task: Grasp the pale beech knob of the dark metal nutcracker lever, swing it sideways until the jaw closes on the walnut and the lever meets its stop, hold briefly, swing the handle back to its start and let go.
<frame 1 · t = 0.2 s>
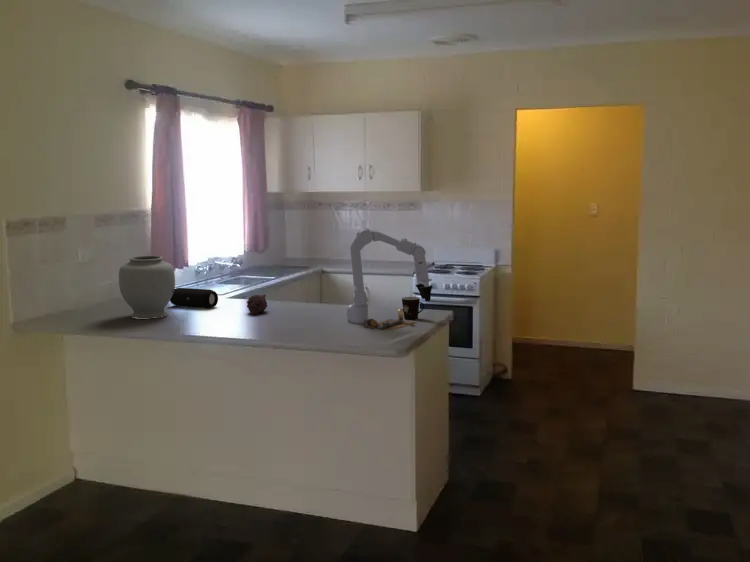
hand: (426, 299, 344), 11 cm above the table, fingers open, 7 cm apart
coffee mug: (412, 319, 352), on the table
portable speaker: (194, 307, 397), on the table
pine cone: (256, 313, 377), on the table
lever: (391, 318, 333), point 4 cm above the table, hinge at 0.0°
grey ceramic vase: (149, 316, 373), on the table
board: (391, 327, 336), on the table
walnut: (373, 327, 331), point 1 cm above the table, touching board
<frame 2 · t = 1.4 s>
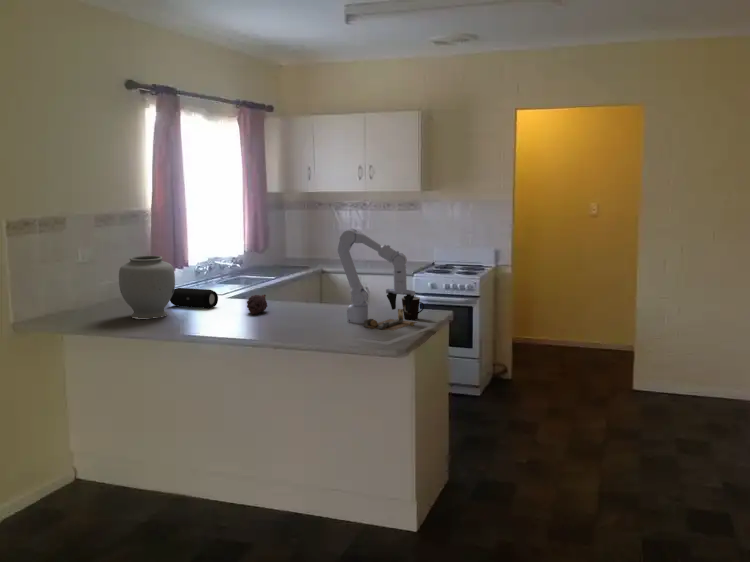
hand: (400, 310, 339), 7 cm above the table, fingers open, 7 cm apart
nothing on the table moved.
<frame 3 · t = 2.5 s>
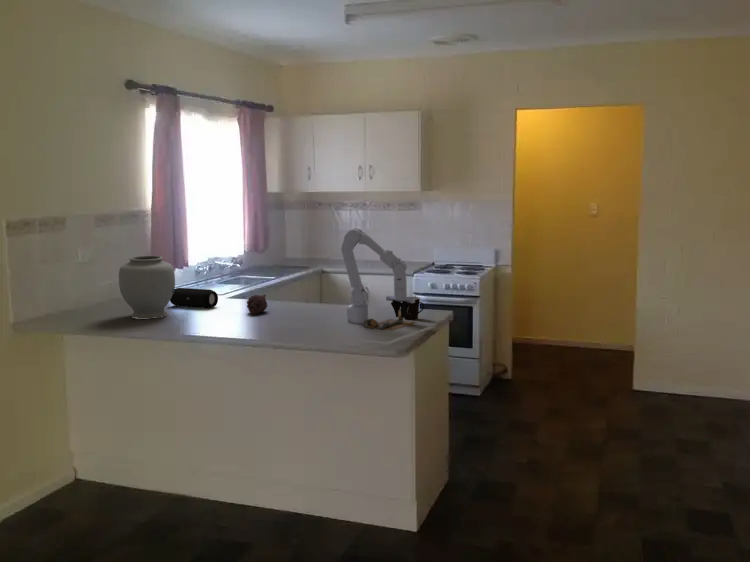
hand: (400, 317, 340), 4 cm above the table, fingers closed on lever, 2 cm apart
lever: (391, 318, 333), point 4 cm above the table, hinge at 0.0°, touching gripper
everything else where it was.
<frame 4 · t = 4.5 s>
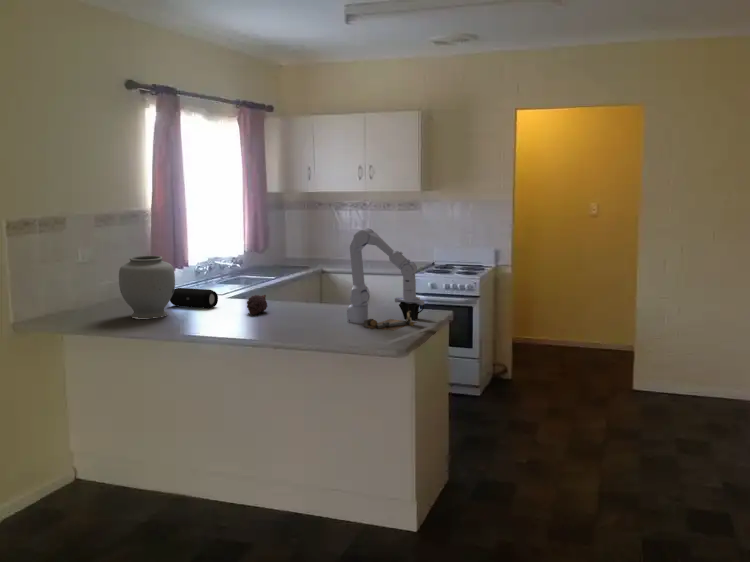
hand: (409, 319, 335), 4 cm above the table, fingers open, 3 cm apart
lever: (394, 319, 332), point 4 cm above the table, hinge at 26.4°, touching gripper
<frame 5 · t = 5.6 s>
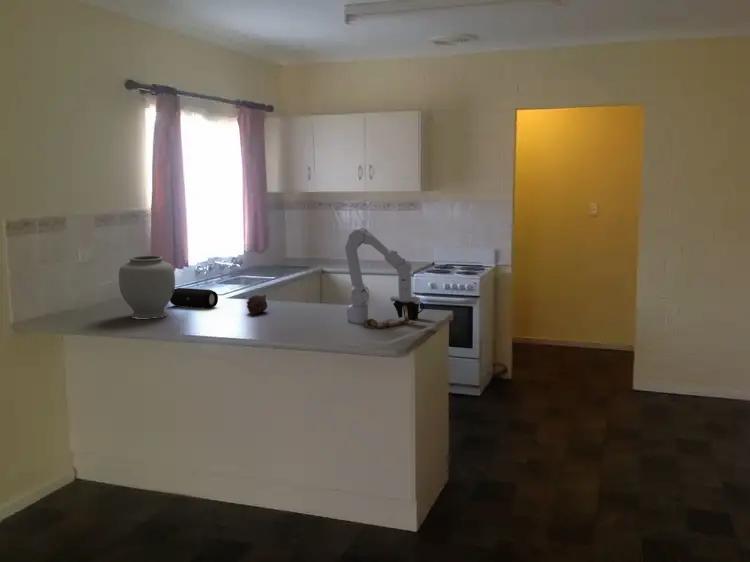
hand: (405, 318, 338), 4 cm above the table, fingers open, 5 cm apart
lever: (393, 319, 332), point 4 cm above the table, hinge at 19.2°, touching gripper
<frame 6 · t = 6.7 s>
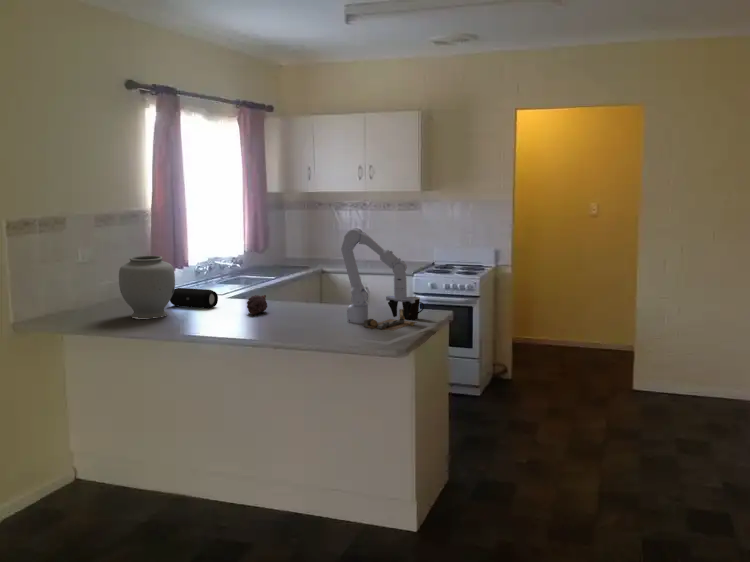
hand: (400, 317, 340), 4 cm above the table, fingers open, 6 cm apart
lever: (391, 318, 333), point 4 cm above the table, hinge at 4.4°
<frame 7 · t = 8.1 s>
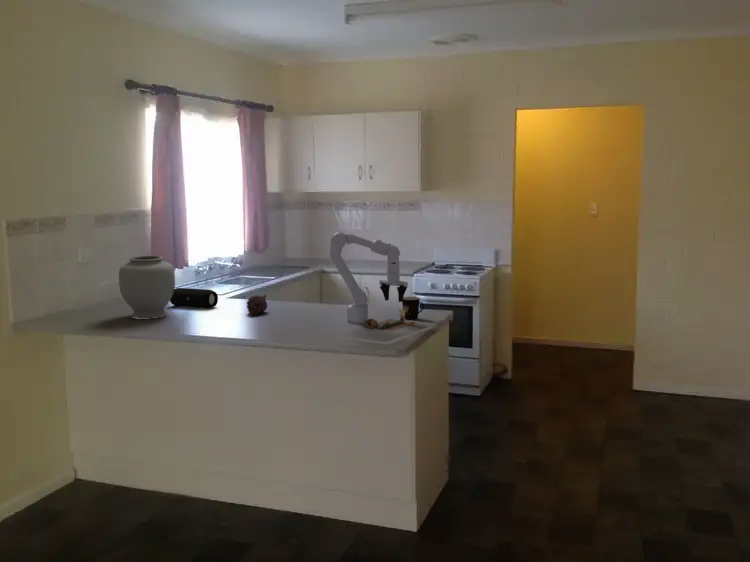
hand: (393, 301, 343), 10 cm above the table, fingers open, 7 cm apart
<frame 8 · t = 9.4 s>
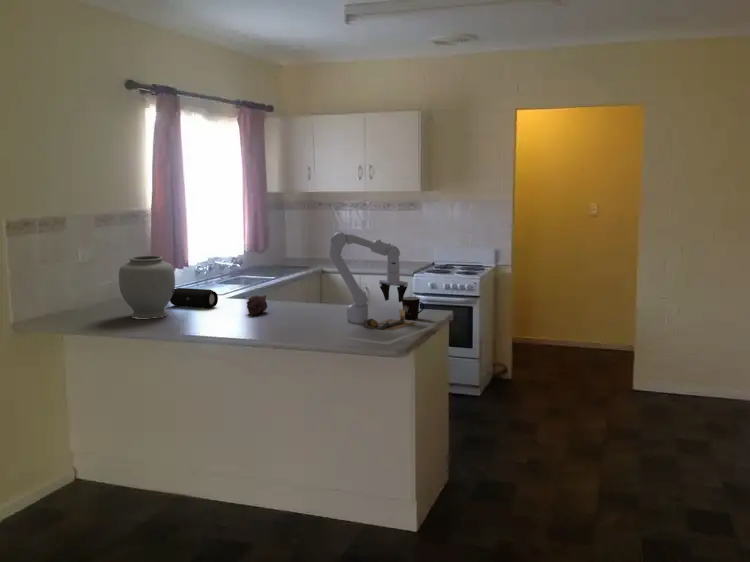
hand: (393, 301, 343), 10 cm above the table, fingers open, 7 cm apart
at the end: lever at +4° (first picture: +0°); the gripper is holding nothing; walnut moved 0.0 cm from its start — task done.
